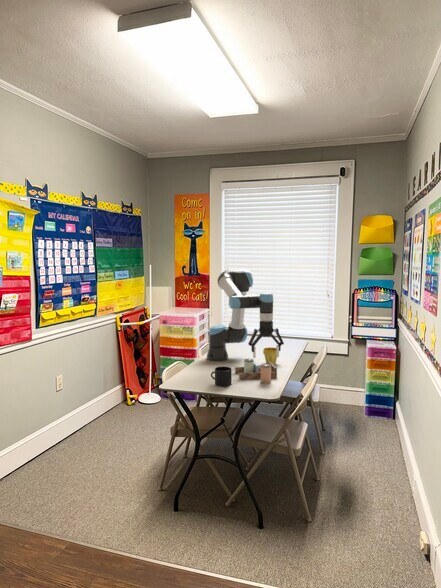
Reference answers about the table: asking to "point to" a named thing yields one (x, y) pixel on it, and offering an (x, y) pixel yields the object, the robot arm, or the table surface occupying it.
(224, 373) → the mug
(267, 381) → the clay jar
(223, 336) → the robot arm
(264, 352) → the plant pot
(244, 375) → the lane
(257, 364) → the pusher
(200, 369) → the table surface
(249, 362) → the sage jar
